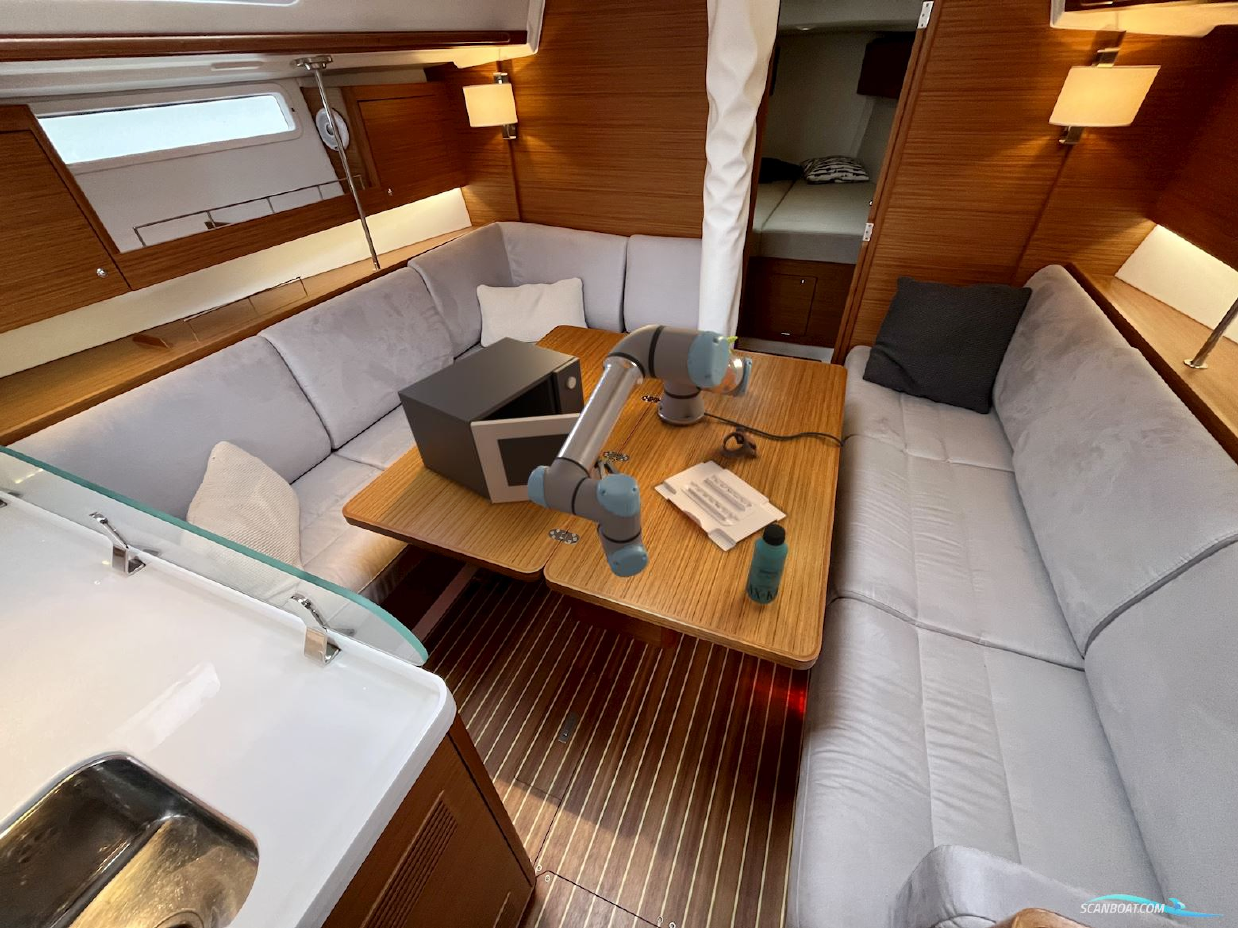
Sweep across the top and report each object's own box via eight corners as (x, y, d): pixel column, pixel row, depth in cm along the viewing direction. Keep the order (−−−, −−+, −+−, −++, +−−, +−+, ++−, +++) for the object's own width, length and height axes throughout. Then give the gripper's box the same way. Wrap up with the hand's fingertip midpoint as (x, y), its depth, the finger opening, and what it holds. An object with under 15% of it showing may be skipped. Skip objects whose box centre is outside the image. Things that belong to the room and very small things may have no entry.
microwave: (589, 431, 157) (581, 358, 141) (496, 503, 132) (474, 425, 116) (519, 405, 171) (506, 336, 156) (424, 466, 146) (397, 391, 131)
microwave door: (604, 509, 128) (597, 429, 112) (489, 519, 127) (466, 440, 112) (603, 489, 134) (596, 411, 118) (492, 499, 133) (471, 422, 118)
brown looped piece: (761, 465, 140) (752, 448, 134) (729, 474, 144) (719, 458, 138) (757, 432, 147) (747, 416, 141) (726, 442, 151) (716, 426, 145)
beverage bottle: (740, 585, 107) (751, 519, 94) (771, 583, 107) (786, 516, 95) (749, 611, 102) (762, 544, 89) (781, 608, 102) (798, 541, 90)
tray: (711, 460, 142) (712, 449, 139) (786, 518, 124) (789, 507, 121) (653, 488, 133) (653, 477, 131) (724, 554, 115) (726, 544, 113)
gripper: (575, 533, 104) (555, 468, 122) (644, 517, 107) (614, 455, 125) (572, 507, 100) (551, 443, 118) (643, 491, 103) (612, 430, 121)
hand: (583, 449), depth 121 cm, fingers closed on microwave door, 2 cm apart
